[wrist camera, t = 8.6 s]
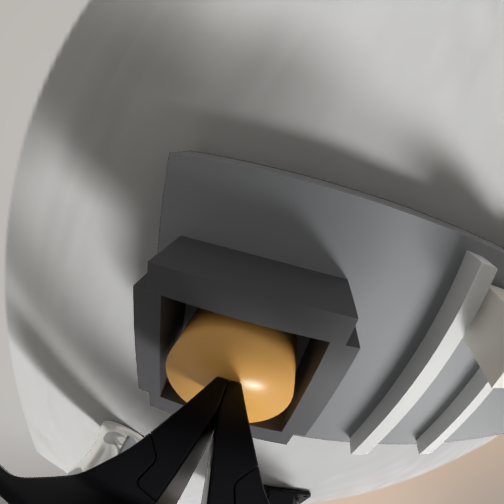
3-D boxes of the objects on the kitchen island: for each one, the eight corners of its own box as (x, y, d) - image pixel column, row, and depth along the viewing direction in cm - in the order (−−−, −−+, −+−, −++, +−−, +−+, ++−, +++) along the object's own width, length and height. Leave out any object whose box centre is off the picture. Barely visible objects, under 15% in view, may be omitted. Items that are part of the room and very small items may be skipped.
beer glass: (110, 442, 23) (56, 534, 9) (90, 407, 21) (17, 514, 7) (165, 463, 22) (117, 569, 8) (152, 433, 20) (86, 563, 6)
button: (280, 390, 12) (273, 432, 9) (185, 363, 12) (165, 401, 10) (312, 313, 10) (313, 357, 8) (194, 280, 10) (167, 316, 8)
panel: (503, 417, 14) (517, 451, 9) (168, 374, 16) (138, 427, 12) (583, 293, 9) (612, 322, 4) (190, 151, 11) (130, 156, 7)
